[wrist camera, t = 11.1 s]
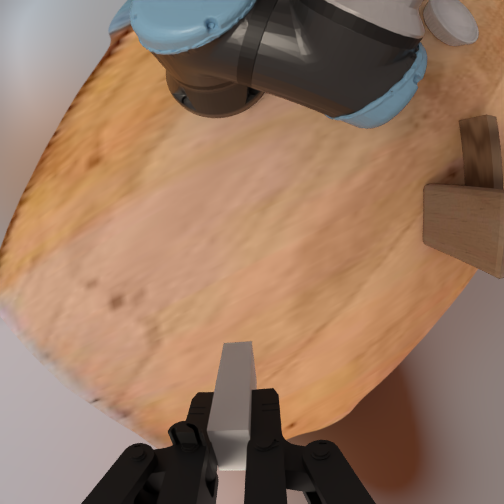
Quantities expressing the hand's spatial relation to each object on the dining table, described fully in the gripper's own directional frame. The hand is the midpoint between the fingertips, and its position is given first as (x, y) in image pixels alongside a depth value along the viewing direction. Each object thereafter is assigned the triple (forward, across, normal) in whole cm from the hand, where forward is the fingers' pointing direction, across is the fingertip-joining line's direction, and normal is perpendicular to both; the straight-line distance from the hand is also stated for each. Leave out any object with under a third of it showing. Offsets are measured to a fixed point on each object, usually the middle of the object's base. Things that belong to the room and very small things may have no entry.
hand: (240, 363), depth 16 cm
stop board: (+29, +39, +8) cm, 50 cm away
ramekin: (+30, +40, +39) cm, 63 cm away
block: (+30, +33, +3) cm, 44 cm away
